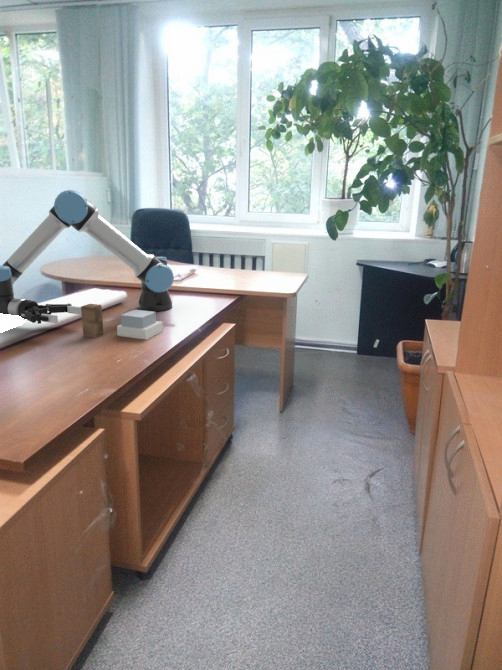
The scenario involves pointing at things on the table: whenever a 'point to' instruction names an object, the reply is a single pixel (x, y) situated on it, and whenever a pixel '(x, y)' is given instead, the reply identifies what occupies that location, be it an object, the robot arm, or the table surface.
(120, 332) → the tower base
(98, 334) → the walnut block
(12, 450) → the table surface
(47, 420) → the table surface
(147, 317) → the tower top
